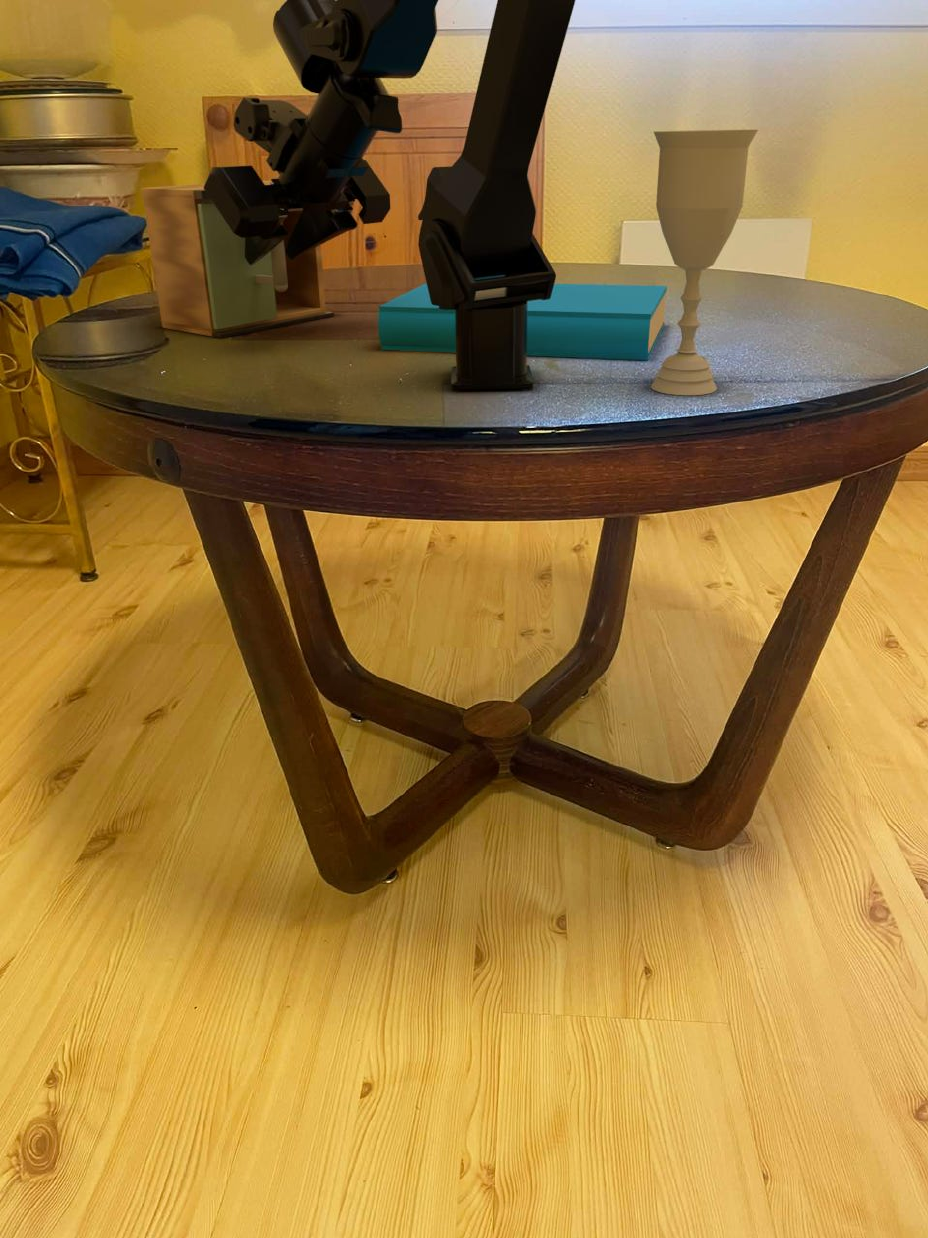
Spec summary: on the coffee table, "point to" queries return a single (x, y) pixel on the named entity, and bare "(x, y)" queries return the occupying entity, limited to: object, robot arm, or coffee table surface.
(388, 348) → the book
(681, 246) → the chalice
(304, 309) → the cupboard
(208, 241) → the door
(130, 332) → the coffee table surface
